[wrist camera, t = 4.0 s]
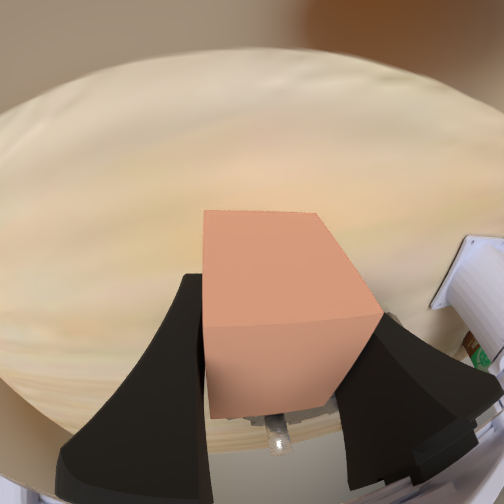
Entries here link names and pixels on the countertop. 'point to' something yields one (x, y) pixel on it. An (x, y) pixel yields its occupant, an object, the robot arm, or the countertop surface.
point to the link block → (278, 312)
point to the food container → (476, 353)
